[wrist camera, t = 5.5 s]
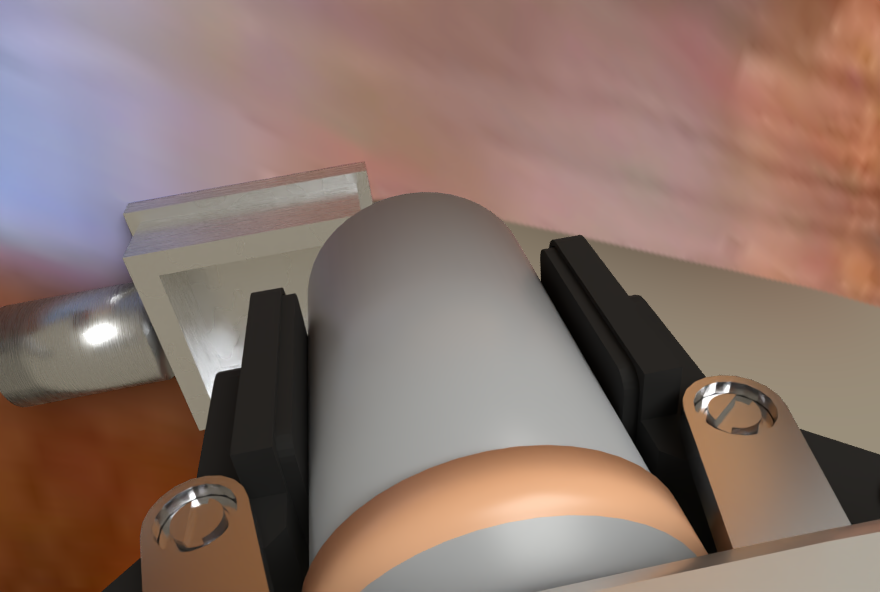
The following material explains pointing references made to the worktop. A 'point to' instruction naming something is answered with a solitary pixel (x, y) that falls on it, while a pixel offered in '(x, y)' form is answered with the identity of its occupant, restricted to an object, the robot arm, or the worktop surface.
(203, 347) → the fitting
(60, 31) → the worktop surface
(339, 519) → the canister
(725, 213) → the worktop surface
